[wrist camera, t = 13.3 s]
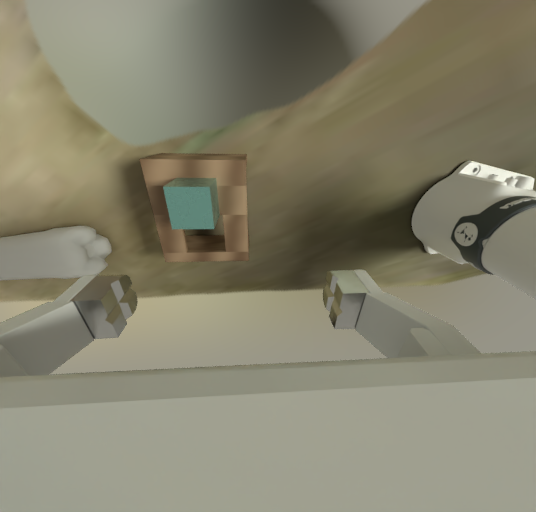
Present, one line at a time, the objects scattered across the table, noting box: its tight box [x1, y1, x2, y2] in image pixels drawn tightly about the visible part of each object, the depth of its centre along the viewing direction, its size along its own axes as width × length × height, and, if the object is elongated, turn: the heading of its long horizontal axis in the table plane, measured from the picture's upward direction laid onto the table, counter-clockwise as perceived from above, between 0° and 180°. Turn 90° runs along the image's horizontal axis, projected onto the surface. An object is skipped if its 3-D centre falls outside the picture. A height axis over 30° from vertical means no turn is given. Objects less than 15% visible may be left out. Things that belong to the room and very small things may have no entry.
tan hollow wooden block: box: [140, 153, 249, 262], centre depth 37 cm, size 14×16×8 cm
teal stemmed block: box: [163, 178, 220, 229], centre depth 32 cm, size 5×5×12 cm
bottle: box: [0, 226, 112, 280], centre depth 39 cm, size 9×9×30 cm
